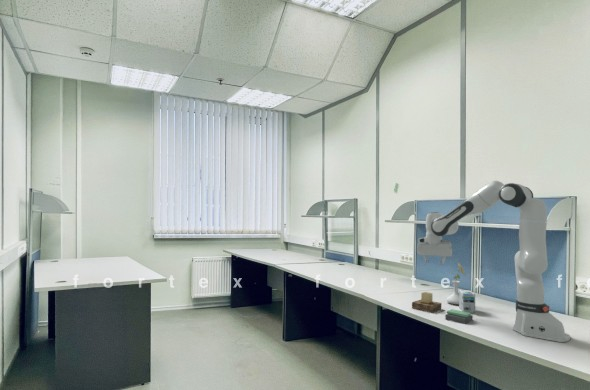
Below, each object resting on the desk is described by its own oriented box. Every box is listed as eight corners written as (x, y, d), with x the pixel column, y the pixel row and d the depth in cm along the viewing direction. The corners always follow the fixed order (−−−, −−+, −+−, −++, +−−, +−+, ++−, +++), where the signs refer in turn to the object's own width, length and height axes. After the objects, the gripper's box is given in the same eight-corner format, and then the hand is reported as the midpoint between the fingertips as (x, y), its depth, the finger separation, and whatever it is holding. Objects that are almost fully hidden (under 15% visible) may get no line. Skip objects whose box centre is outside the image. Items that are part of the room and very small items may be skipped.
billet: (432, 307, 217) (432, 293, 217) (428, 308, 214) (428, 294, 214) (425, 305, 220) (425, 291, 221) (421, 306, 217) (421, 293, 218)
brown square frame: (441, 309, 217) (441, 303, 217) (431, 312, 209) (431, 306, 209) (422, 305, 226) (422, 299, 226) (412, 308, 217) (412, 302, 218)
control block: (472, 320, 196) (472, 315, 196) (464, 323, 189) (464, 318, 189) (453, 316, 203) (453, 311, 203) (445, 319, 196) (445, 314, 196)
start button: (471, 318, 194) (471, 313, 194) (466, 321, 190) (466, 315, 190) (452, 314, 201) (452, 309, 202) (447, 316, 197) (447, 311, 197)
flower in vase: (459, 306, 223) (459, 264, 224) (442, 302, 232) (442, 262, 233) (471, 304, 231) (471, 263, 232) (453, 300, 240) (454, 261, 241)
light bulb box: (475, 313, 209) (475, 294, 210) (462, 312, 211) (463, 293, 211) (470, 308, 220) (470, 290, 220) (458, 307, 221) (458, 289, 222)
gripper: (453, 240, 214) (454, 264, 213) (420, 238, 228) (421, 261, 228) (449, 240, 209) (449, 265, 209) (415, 239, 224) (415, 262, 223)
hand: (434, 263), depth 218 cm, fingers open, 8 cm apart
